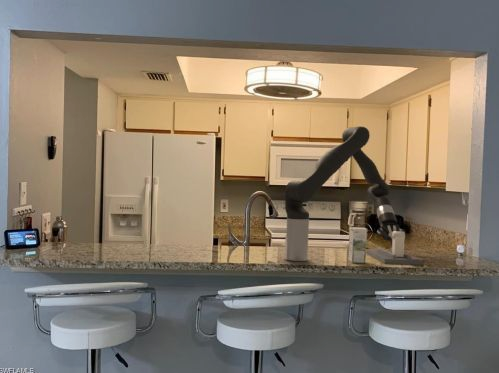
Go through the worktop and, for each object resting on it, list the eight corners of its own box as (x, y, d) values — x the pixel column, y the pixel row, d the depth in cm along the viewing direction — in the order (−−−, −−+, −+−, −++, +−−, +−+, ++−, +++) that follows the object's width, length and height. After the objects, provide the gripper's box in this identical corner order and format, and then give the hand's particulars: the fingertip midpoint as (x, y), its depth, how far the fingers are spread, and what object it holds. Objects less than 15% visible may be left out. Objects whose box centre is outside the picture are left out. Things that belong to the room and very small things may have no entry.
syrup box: (361, 261, 173) (362, 226, 173) (365, 263, 167) (367, 228, 167) (348, 260, 172) (349, 226, 172) (352, 263, 167) (353, 228, 166)
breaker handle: (394, 256, 173) (395, 231, 173) (391, 255, 176) (392, 230, 176) (404, 256, 173) (405, 232, 173) (401, 255, 176) (402, 231, 176)
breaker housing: (384, 263, 168) (384, 255, 168) (366, 253, 192) (366, 246, 192) (422, 264, 168) (422, 256, 168) (399, 254, 192) (399, 247, 192)
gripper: (374, 211, 186) (383, 241, 174) (403, 212, 186) (413, 242, 174) (370, 221, 191) (378, 252, 179) (398, 222, 192) (407, 252, 179)
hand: (395, 247), depth 177 cm, fingers closed
